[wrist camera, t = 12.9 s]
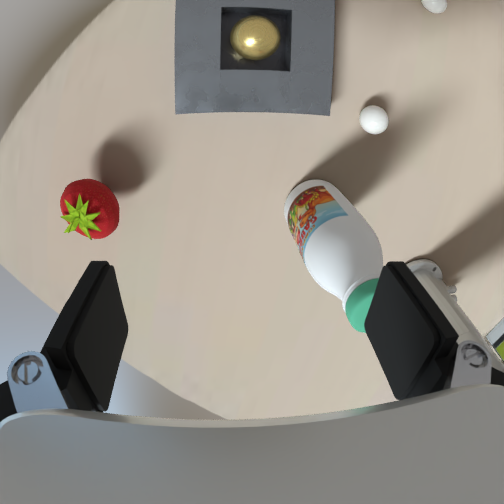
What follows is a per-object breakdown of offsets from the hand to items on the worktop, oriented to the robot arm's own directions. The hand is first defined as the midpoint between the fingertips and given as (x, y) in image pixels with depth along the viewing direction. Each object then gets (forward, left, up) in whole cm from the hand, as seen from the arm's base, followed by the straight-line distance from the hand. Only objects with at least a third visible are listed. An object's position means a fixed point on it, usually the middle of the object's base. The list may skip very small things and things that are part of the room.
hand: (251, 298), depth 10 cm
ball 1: (-17, -3, -26) cm, 31 cm away
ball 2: (-25, -21, -26) cm, 41 cm away
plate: (-3, -11, -27) cm, 30 cm away
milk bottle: (-11, +9, -28) cm, 31 cm away
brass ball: (-3, -11, -25) cm, 27 cm away
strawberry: (+15, +6, -28) cm, 32 cm away
